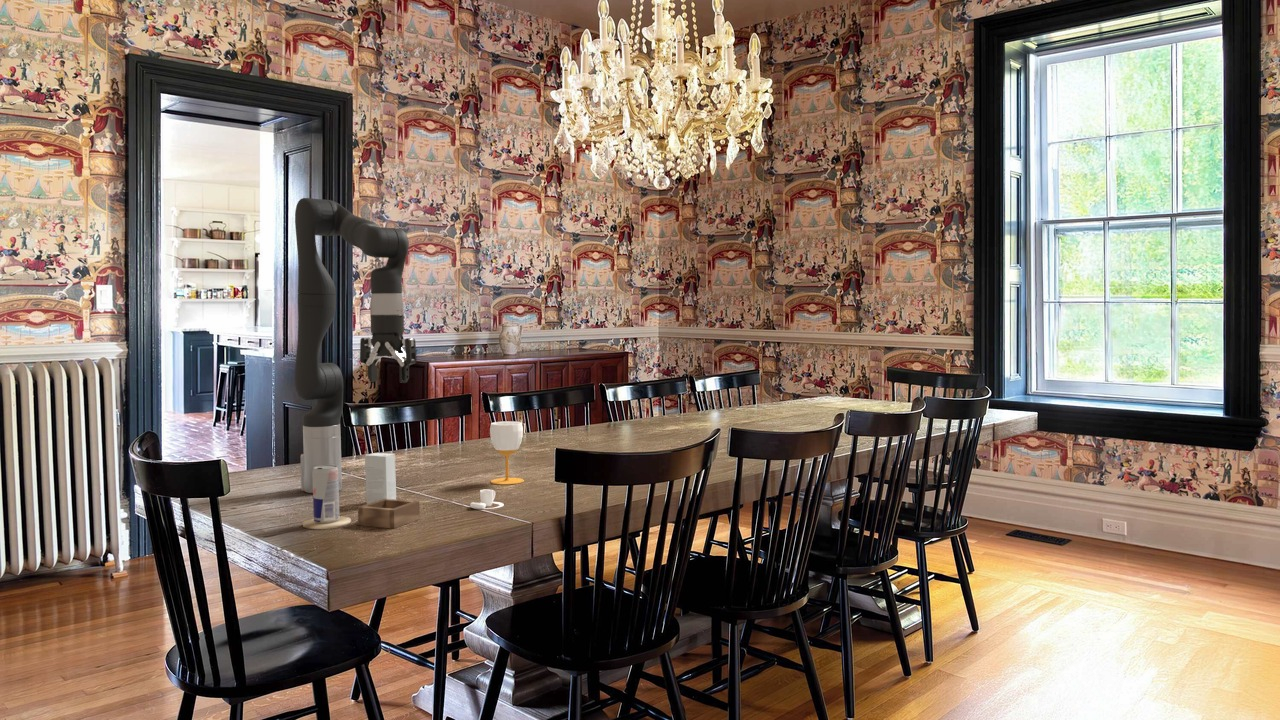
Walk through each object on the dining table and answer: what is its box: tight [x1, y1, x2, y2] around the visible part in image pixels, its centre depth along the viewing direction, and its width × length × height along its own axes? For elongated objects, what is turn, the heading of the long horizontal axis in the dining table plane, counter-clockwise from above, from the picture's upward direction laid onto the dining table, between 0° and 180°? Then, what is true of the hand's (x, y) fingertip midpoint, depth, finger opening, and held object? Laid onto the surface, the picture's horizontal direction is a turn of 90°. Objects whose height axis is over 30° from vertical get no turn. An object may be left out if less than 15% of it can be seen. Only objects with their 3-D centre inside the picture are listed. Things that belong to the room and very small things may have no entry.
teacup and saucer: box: [469, 488, 504, 510], centre depth 217 cm, size 9×8×4 cm
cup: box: [489, 420, 525, 486], centre depth 247 cm, size 9×9×16 cm
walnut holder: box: [357, 498, 421, 529], centre depth 201 cm, size 9×9×4 cm
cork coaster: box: [302, 515, 352, 530], centre depth 200 cm, size 10×10×1 cm
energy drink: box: [312, 465, 340, 524], centre depth 200 cm, size 5×5×12 cm
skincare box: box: [364, 452, 397, 504], centre depth 221 cm, size 6×4×12 cm
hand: (388, 382), depth 214 cm, fingers open, 8 cm apart
